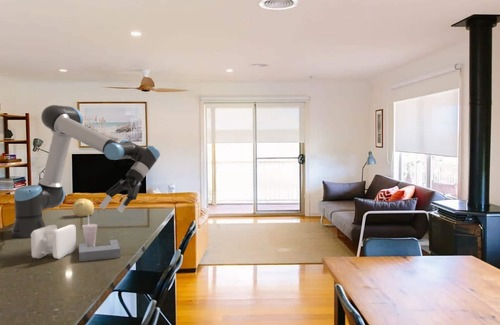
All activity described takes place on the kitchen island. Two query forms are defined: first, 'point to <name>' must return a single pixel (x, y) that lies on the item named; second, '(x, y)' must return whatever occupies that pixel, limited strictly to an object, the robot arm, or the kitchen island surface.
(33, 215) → the robot arm
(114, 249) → the notched board
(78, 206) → the pale yellow round lump
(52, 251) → the cable organizer
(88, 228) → the smoothie
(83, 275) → the kitchen island surface
